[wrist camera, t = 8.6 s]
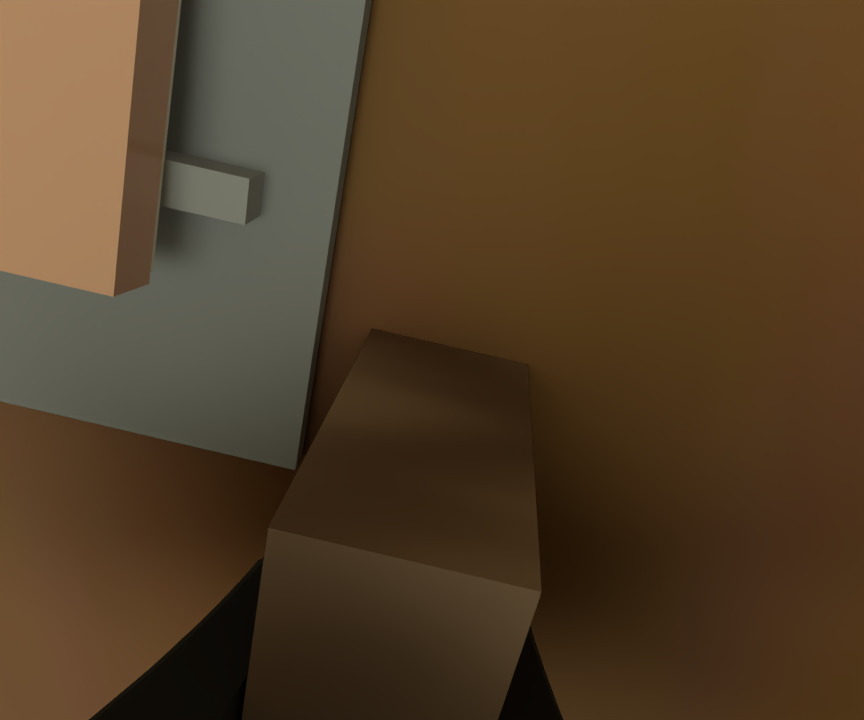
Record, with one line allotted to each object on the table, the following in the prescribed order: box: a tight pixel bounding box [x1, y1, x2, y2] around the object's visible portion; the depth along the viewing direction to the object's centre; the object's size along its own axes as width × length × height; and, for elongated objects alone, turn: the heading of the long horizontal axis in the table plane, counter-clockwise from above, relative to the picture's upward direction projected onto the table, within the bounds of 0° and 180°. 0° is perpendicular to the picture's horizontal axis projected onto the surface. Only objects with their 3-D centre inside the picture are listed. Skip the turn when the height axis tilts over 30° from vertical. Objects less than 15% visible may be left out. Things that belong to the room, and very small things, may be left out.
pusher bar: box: [242, 329, 542, 720], centre depth 10 cm, size 2×7×5 cm, turn 168°
